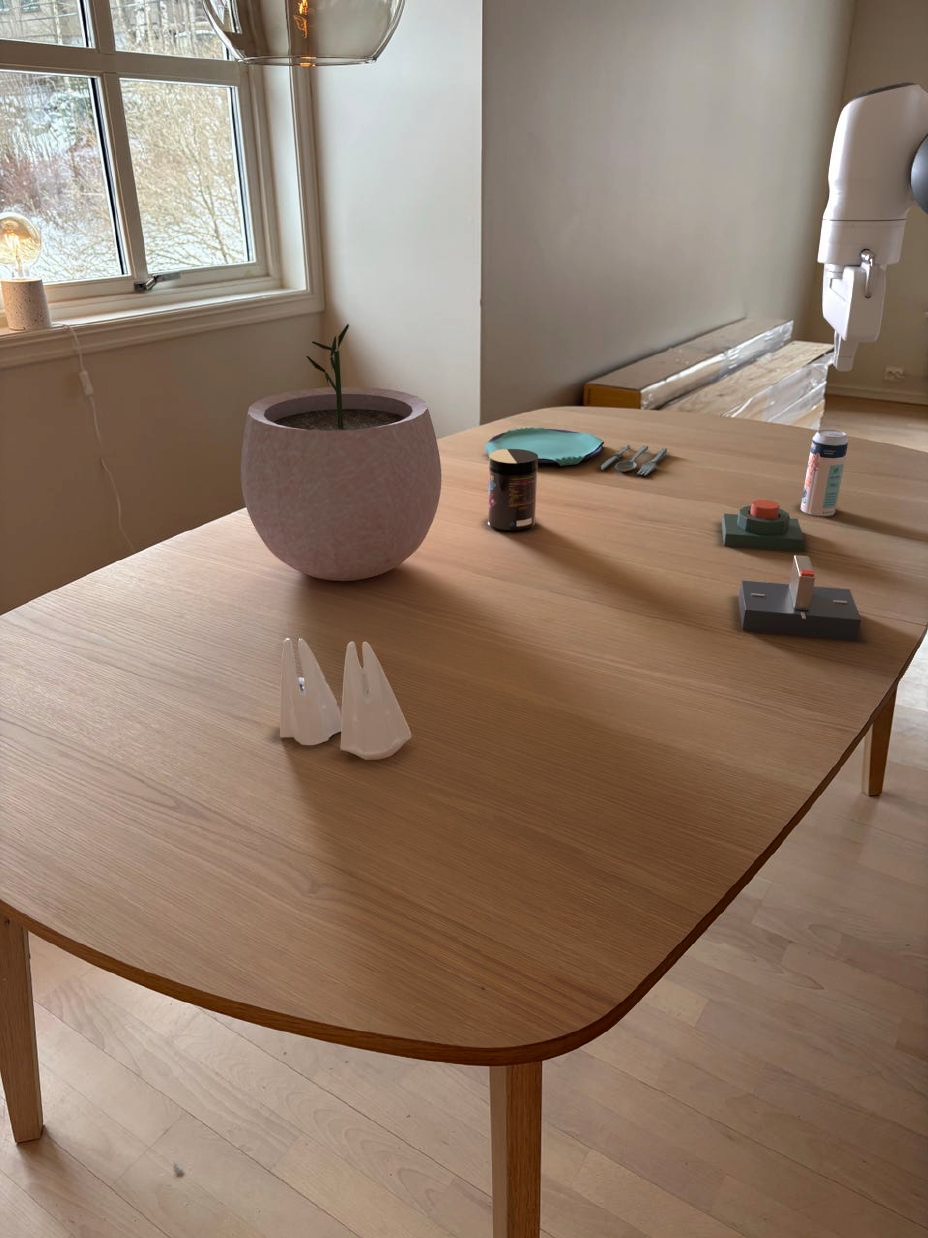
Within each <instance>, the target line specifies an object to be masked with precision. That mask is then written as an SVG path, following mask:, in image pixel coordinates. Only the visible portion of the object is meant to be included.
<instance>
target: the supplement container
mask: <svg viewBox="0 0 928 1238" xmlns="http://www.w3.org/2000/svg"><path fill="white" fill-rule="evenodd" d="M538 464H539V463H538V455H537V454H536V453H534V452H532V451H528V450H522V449H502V450H497V451H494V452H491V453H490V454H489V455H488V466H487V467H488V494H487V495H488V496H487V499H488V501H487V502H488V503H487V524H488V527H489V528H491V529H492V530H494V531H497V532H500V533H508V534H509V533H510V534H517V533H519V534H520V533H524V532H528V531H531V530H533V528H535V525H536V513H537V510H536V509H537V487H538V485H537V484H538V469H539V465H538Z"/></svg>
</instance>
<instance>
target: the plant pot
mask: <svg viewBox="0 0 928 1238" xmlns="http://www.w3.org/2000/svg"><path fill="white" fill-rule="evenodd" d="M349 328H350V325H349V323H347V324H346V325H345V327H344V328H343V329H342V331H341V332H340V334H339V335H338V337H337V335H335V336H334V338H333V341H332V344H331V346H327V345H325V344H322V343H320V342H317V341H314V340H313V341H311V343H312V344H313V345H315V346H317V347H319V348H321V349H323V350H326V351H330V355H329V356H330V357H329V360H330V364H331V369H332V370H333V372H334V382H333V380H332V378H331V376H330V375H329V374H328V372H326V369H324V367H322V366H321V365H319V364H318V363H317V362H316V361H315V360H313V359H312V358H311V357H310V356H309V355H305V356H306V358H307V360H308V361H309V362H310V364H312V366H313V367H314V369H316V370H318V371H320V372H322V373H324V376H325V379H326V383H327V386H325V387H324V386H323V387H315V388H313V387H312V388H303V389H297V390H291V391H284V392H280V393H276V394H273V395H269V396H266V397H264V398H261V399H259V400H256V401H255V402H254V403H252V404H251V405H250V406H249V407H248V410H247V415H246V420H245V426H244V431H243V436H242V437H243V439H242V447H241V457H240V458H241V459H240V485H241V491H242V492H241V493H242V496H243V501H244V505H245V508H246V512H247V514H248V516H249V519H250V521H251V523H252V525H253V527H254V529H255V531H256V532H257V534H258V536H259V537H260V539H261V541H262V542H263V544H264V545H265V547H266V548H267V549H268V551H270V553H271V554H273V556H274V557H276V558H277V559H278V560H279V561H281V562H282V563H284V564H285V565H287V566H288V567H290V568H291V569H293V570H295V571H297V572H299V573H301V574H304V575H307V576H310V577H313V578H316V579H319V580H324V581H325V580H326V581H336V582H350V581H351V582H352V581H353V582H354V581H359V580H365V579H369V578H373V577H376V576H380V575H383V574H384V573H387V572H388V571H391V570H392V569H395V568H397V567H398V566H399V565H401V564H402V563H403V562H405V561H407V559H408V558H410V557H411V556H412V555H413V554H414V553H416V551H417V550H418V549H419V548H420V547H421V545H422V544H423V542H424V541H425V539H426V537H427V535H428V533H429V531H430V528H431V526H432V524H433V522H434V519H435V517H436V514H437V510H438V507H439V502H440V497H441V491H442V466H441V465H442V464H441V457H440V451H439V445H438V440H437V436H436V432H435V428H434V424H433V421H432V417H431V414H430V409H429V407H428V405H427V402H426V401H425V400H424V399H422V398H421V397H419V396H418V395H414V394H410V393H408V392H404V391H399V390H394V389H388V388H381V387H380V388H378V387H369V386H368V387H367V386H342V377H341V375H342V374H341V359H340V358H341V357H340V350H339V348H340V345H341V344H342V342H343V340H344V338H345V335H346V334H347V331H348V329H349ZM329 383H330V385H329Z"/></svg>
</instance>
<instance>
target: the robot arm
mask: <svg viewBox="0 0 928 1238" xmlns="http://www.w3.org/2000/svg"><path fill="white" fill-rule="evenodd" d="M827 179H828V187H829V197H828V201H827V205H826V208H825V210H824V211H823V216H822V223H821V230H820V237H819V246H818V254H817V263H819V264H824V267H823V280H822V315H823V319H825V320H826V322H828V324H829V325H830V326H831V327H832V329H833V330H834V336H833V337H834V338H833V339H834V355H833V362H832V364H833V366H834V367H835V369H836V371H838V372H851V371H852V369H853V365H854V361H855V360H854V359H855V356H856V353H857V350H858V347H859V344H860V343H875V342H876V341H877V340H878V338H879V336H880V332H881V327H882V319H883V314H884V313H883V312H884V305H885V304H884V303H885V296H886V286H887V285H886V284H887V275H886V274H887V273H886V272H887V266H889V265H896V264H898V263H899V262H900V259H901V254H902V248H903V247H902V246H903V243H904V242H903V241H904V234H905V229H906V222H907V218H908V212H909V211H910V210H911V209H912V208H920V209H921V210H922V211H923V212H924V213H925V214H926V215H928V92H927V91H925V90H924V89H923V88H922V87H921V85H919V84H918V83H914V82H900V83H893V84H889V85H885V86H880V87H876V88H872V89H869V90H867V91H863V92H861V93H859V94H857V95H856V96H854V97H853V98H852V99H851V100H850V101H848V103H847V104H846V105H845V106H844V107H843V109H842V111H841V112H840V115H839V118H838V122H837V125H836V129H835V134H834V137H833V143H832V147H831V154H830V161H829V168H828V178H827Z"/></svg>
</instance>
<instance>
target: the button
mask: <svg viewBox="0 0 928 1238" xmlns="http://www.w3.org/2000/svg"><path fill="white" fill-rule="evenodd" d="M750 506H751V512H750V515H751V516H753V517H757V518H761V519H776V518H778V513H779V509H780V504H779V503H778V502H777V501H773V500H769V499H755V500H753V501H752V502H751V505H750Z"/></svg>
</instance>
